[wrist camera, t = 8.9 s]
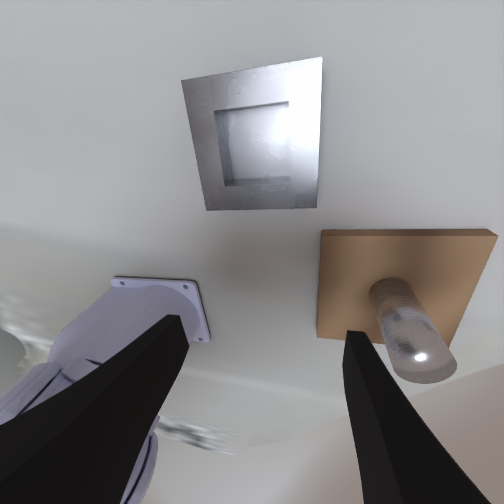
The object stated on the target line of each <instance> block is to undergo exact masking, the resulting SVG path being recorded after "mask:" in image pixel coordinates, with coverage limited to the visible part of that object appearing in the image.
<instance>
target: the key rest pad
mask: <svg viewBox="0 0 504 504" xmlns="http://www.w3.org/2000/svg"><path fill="white" fill-rule="evenodd" d="M497 238H498V235H496V234H494V233H493V232H491V231H489V230H488V229H443V230H322V233H321V253H320V273H319V292H318V312H317V338H327V339H337V340H346V334H347V330H352V331H363V332H365V333H366V334H367V336H368V337H369V339H370V341H371V343H378V344H385V342H384V339H383V336H382V333H381V330H380V327H379V324H378V321H377V318H376V315H375V312H374V309H373V306H372V303H371V300H370V297H369V291H370V288H371V287H372V286H373V285H374V284H375V283H376V282H377V281H379V280H382V279H385V278H400V279H403V280H405V281H406V282H408V283H409V285H410V286H411V288H412V289H413V291H414V293H415V294H416V296H417V297H418V299H419V301H420V302H421V304H422V306H423V307H424V309H425V311H426V312H427V314H428V316H429V317H430V319H431V320H432V322H433V324H434V325H435V327H436V329H437V330H438V332H439V334H440V335H441V337H442V339H443V340H444V342H445V344H446V345H447V347H448V348H449V346H450V343H451V341H452V339H453V337H454V335H455V332H456V330H457V328H458V326H459V323H460V321H461V319H462V317H463V314H464V312H465V310H466V308H467V305H468V303H469V301H470V299H471V297H472V294H473V292H474V290H475V288H476V285H477V283H478V281H479V279H480V276H481V274H482V272H483V270H484V267H485V265H486V263H487V261H488V259H489V256H490V254H491V252H492V250H493V247H494V245H495V243H496V241H497Z"/></svg>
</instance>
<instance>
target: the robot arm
mask: <svg viewBox="0 0 504 504" xmlns="http://www.w3.org/2000/svg"><path fill="white" fill-rule="evenodd" d="M110 283H111V285H112V287H113V288H111V289H110V290H109V291H108V292H107V293H105V294H104V295H103V296H102V297H101V298H99V299H98V300H97V301H96V302H95V303H94V304H92V305H91V306H90V307H89V308H88V309H87V310H85V311H84V312H83V313H82V314H81V315H79V316H78V317H77V318H76V319H75V320H74V321H72V322H71V323H70V324H69V325H68V326H67V327H66V328H65V329H64V330H63V331H62V332H61V333H60V334H59V335H58V337H57V338H56V340H55V342H54V344H53V345H52V348H51V350H50V353H49V356H48V362H47V363H40V364H38V365H36V366H35V367H34V368H32V369H31V370H30V371H29V372H27V373H26V374H25V375H24V376H23V377H21V378H20V379H19V380H18V381H17V382H16V383H14V384H13V385H12V386H11V387H10V388H9V389H7V390H6V391H5V392H4V393H3V394H2V395H1V396H0V504H140V503H141V501H142V499H143V497H144V495H145V493H146V491H147V489H148V486H149V484H150V481H151V478H152V475H153V472H154V469H155V465H156V458H157V451H158V439H157V436H156V434H155V433H154V432H153V431H154V429H155V427H156V425H157V423H158V421H159V419H160V416H159V415H157V414H158V412H159V410H160V408H161V406H162V404H163V402H164V401H165V399H166V397H167V395H168V393H169V391H170V389H171V387H172V385H173V383H174V381H175V379H176V377H177V375H178V373H179V371H180V369H181V367H182V365H183V362H184V360H185V357H186V354H187V351H188V349H189V345H190V343H191V341H194V342H203V343H208V342H209V341H210V334H209V330H208V326H207V323H206V319H205V315H204V311H203V307H202V303H201V299H200V295H199V291H198V287H197V284H196V283H195V282H193V281H184V280H164V279H144V278H124V277H113V278H112V279H111V280H110ZM186 285H187V286H188V287H187V286H186ZM342 367H343V378H344V388H345V396H346V401H347V406H348V411H349V417H350V422H351V427H352V431H353V437H354V442H355V447H356V453H357V458H358V463H359V469H360V475H361V482H362V491H363V499H364V504H491V503H490V502H489V501H488V500H487V499H486V497H485V496H484V495H483V494H482V493H481V492H480V490H479V489H478V488H477V487H476V486H475V484H474V483H473V482H472V481H471V480H470V479H469V477H468V476H467V475H466V474H465V473H464V471H462V469H461V468H460V467H459V466H458V464H457V463H456V462H455V461H454V459H453V458H452V457H451V456H450V454H449V453H448V452H447V451H446V450H445V448H444V447H443V446H442V445H441V443H440V442H439V441H438V439H437V438H436V437H435V436H434V434H433V433H432V432H431V430H430V429H429V428H428V427H427V425H426V424H425V423H424V421H423V420H422V418H421V417H420V416H419V414H418V413H417V412H416V410H415V409H414V408H413V406H412V405H411V403H410V402H409V401H408V399H407V398H406V396H405V395H404V393H403V392H402V390H401V389H400V388H399V386H398V385H397V383H396V382H395V380H394V379H393V377H392V376H391V374H390V373H389V371H388V369H387V368H386V366H385V365H384V363H383V361H382V360H381V358H380V357H379V355H378V353H377V352H376V350H375V348H374V346H373V345H372V343H371V341H370V339H369V337H368V336H367V334H366V333H365V332H363V331H352V330H347V334H346V341H345V348H344V356H343V363H342Z"/></svg>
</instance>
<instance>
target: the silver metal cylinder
mask: <svg viewBox="0 0 504 504" xmlns="http://www.w3.org/2000/svg"><path fill="white" fill-rule="evenodd" d="M369 297H370V300H371V303H372V306H373V309H374V312H375V315H376V318H377V321H378V324H379V327H380V330H381V333H382V336H383V339H384V342H385V345H386V348H387V351H388V354H389V357H390V360H391V363H392V366H393V369H394V371H395V373H396V374H397V375H398V376H399V377H401V378H402V379H404V380H407V381H410V382H413V383H420V384H429V383H436V382H440V381H443V380H445V379H447V378H449V377H450V376H452V375H453V374H454V372H455V371H456V369H457V362H456V360H455V358H454V357H453V355H452V353H451V352H450V350H449V348H448V347H447V345H446V344H445V342H444V340H443V339H442V337H441V335H440V334H439V332H438V330H437V329H436V327H435V325H434V324H433V322H432V320H431V319H430V317H429V316H428V314H427V312H426V311H425V309H424V307H423V306H422V304H421V302H420V301H419V299H418V297H417V296H416V294H415V293H414V291H413V289H412V288H411V286H410V285H409V283H408V282H406V281H405V280H403V279H400V278H385V279H382V280H379V281H377V282H376V283H375V284H374V285H373V286H372V287H371V288H370V291H369Z"/></svg>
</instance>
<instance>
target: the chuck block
mask: <svg viewBox="0 0 504 504" xmlns="http://www.w3.org/2000/svg"><path fill="white" fill-rule="evenodd" d="M321 81H322V57H318V58H312V59H306V60H300V61H294V62H288V63H282V64H276V65H270V66H264V67H258V68H252V69H246V70H240V71H235V72H229V73H223V74H217V75H211V76H205V77H199V78H193V79H187V80H181V83H182V88H183V93H184V98H185V103H186V108H187V113H188V118H189V123H190V129H191V134H192V139H193V144H194V149H195V154H196V159H197V164H198V169H199V175H200V180H201V185H202V190H203V195H204V200H205V205H206V210H207V211H214V210H254V209H294V208H317V188H318V161H319V134H320V108H321Z"/></svg>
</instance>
